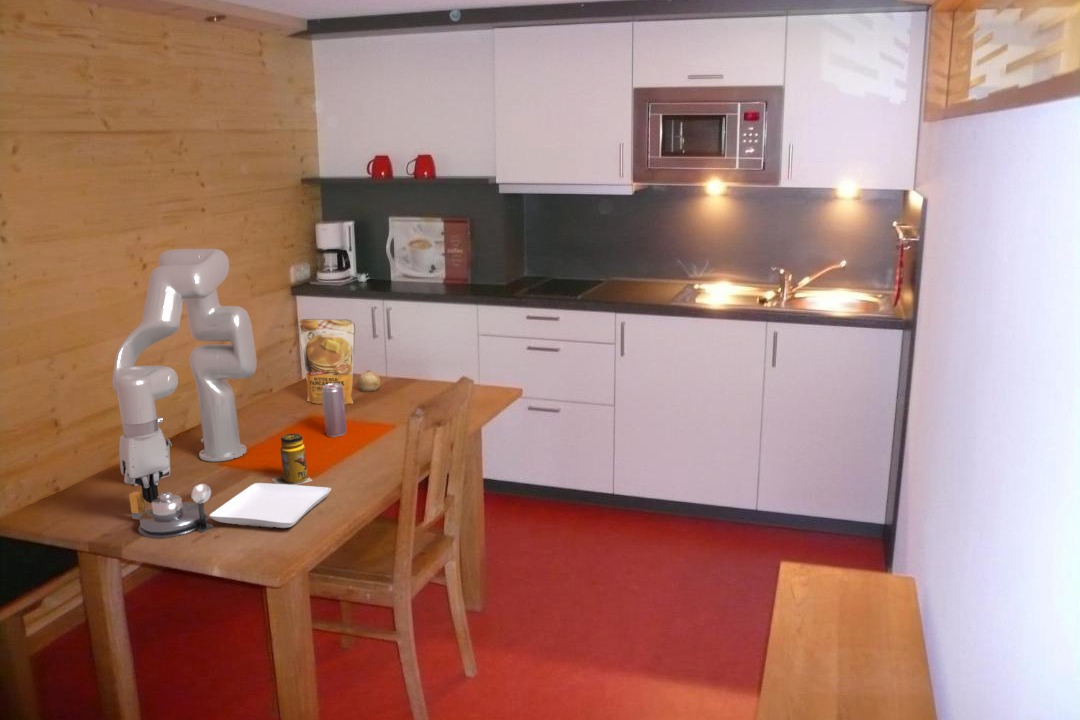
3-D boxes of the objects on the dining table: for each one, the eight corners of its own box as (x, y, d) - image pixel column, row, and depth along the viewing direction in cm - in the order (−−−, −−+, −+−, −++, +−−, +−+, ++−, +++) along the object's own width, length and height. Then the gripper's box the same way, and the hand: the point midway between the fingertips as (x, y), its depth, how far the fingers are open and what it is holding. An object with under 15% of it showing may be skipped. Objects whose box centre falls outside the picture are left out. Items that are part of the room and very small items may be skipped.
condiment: (313, 481, 236) (308, 437, 233) (280, 488, 231) (275, 443, 228) (303, 472, 242) (299, 429, 239) (271, 480, 237) (266, 436, 234)
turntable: (114, 529, 208) (110, 504, 206) (155, 505, 221) (152, 481, 219) (179, 537, 203) (175, 511, 201) (217, 512, 216) (214, 488, 214)
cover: (147, 521, 207) (144, 498, 206) (165, 510, 213) (162, 487, 212) (171, 523, 206) (168, 500, 204) (189, 512, 212) (186, 489, 210)
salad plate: (334, 498, 224) (333, 485, 224) (293, 535, 204) (292, 521, 204) (255, 494, 229) (254, 481, 228) (208, 529, 209) (206, 515, 208)
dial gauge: (191, 530, 208) (185, 485, 205) (209, 523, 211) (203, 479, 208) (198, 533, 206) (192, 488, 203) (216, 527, 209) (210, 482, 207)
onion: (385, 389, 318) (384, 370, 316) (367, 394, 312) (365, 374, 311) (372, 385, 323) (370, 366, 322) (353, 390, 318) (351, 371, 316)
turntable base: (126, 527, 211) (126, 525, 211) (187, 506, 222) (187, 504, 222) (158, 544, 201) (158, 542, 201) (220, 521, 212) (220, 519, 212)
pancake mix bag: (309, 398, 310) (302, 317, 303) (362, 400, 306) (355, 318, 299) (300, 403, 304) (292, 321, 297) (353, 406, 299) (346, 322, 293)
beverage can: (327, 431, 274) (323, 383, 271) (347, 430, 275) (343, 382, 271) (324, 438, 268) (320, 389, 265) (345, 437, 269) (341, 388, 265)
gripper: (162, 416, 219) (172, 487, 224) (100, 433, 208) (112, 507, 213) (179, 421, 215) (189, 494, 219) (116, 439, 204) (128, 515, 208)
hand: (151, 500), depth 216 cm, fingers closed
